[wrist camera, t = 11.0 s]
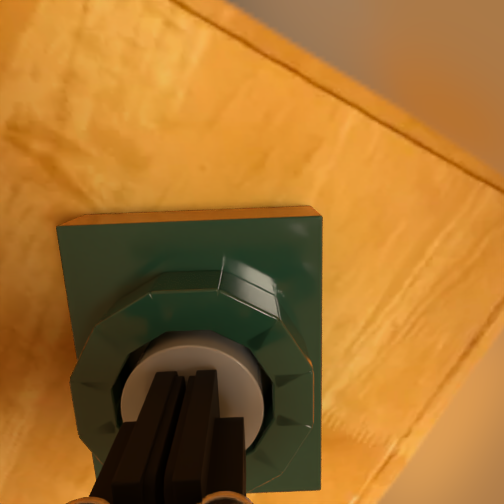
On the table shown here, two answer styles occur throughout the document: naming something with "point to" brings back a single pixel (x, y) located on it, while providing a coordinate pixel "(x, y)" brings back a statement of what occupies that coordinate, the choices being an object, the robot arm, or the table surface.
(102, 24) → the table surface
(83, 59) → the table surface
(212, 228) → the green button housing
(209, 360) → the button
